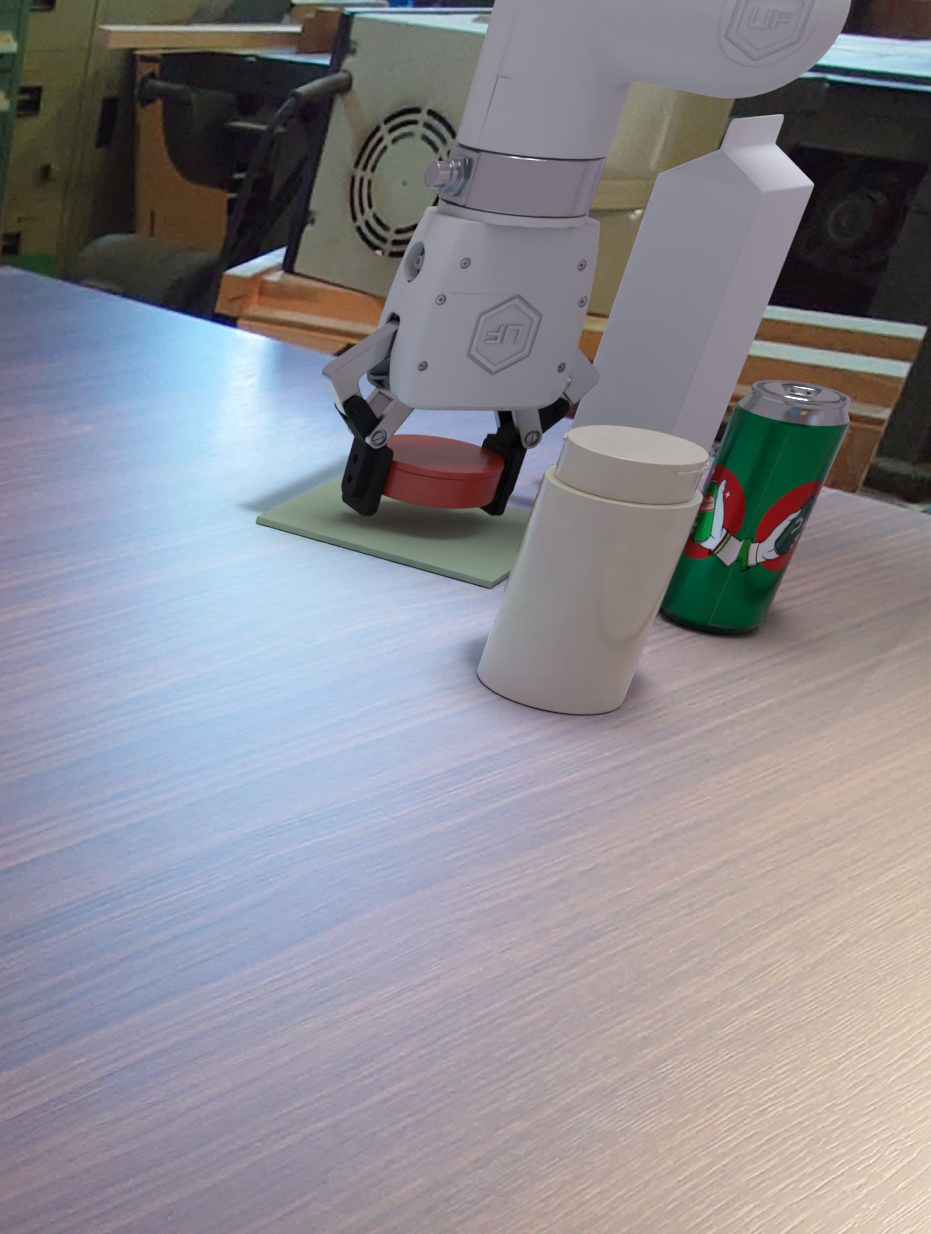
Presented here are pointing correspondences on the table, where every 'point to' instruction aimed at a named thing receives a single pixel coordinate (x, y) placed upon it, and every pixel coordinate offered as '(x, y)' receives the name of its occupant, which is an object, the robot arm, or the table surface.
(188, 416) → the table surface
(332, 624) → the table surface
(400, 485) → the lid
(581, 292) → the robot arm
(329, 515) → the mat
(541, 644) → the jar
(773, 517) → the soda can
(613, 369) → the milk
